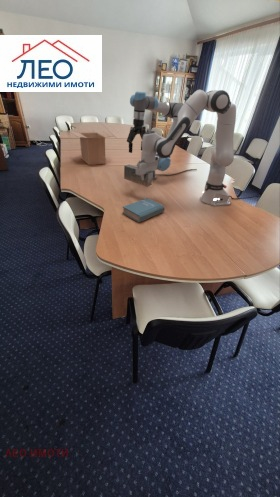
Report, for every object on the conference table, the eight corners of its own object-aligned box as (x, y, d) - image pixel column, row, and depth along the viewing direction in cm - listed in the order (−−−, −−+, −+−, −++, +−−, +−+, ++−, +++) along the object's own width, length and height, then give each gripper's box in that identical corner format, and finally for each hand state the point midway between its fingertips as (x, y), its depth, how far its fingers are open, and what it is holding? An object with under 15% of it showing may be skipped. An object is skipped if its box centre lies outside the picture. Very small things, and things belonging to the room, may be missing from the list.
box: (116, 165, 229) (116, 136, 213) (83, 168, 214) (80, 137, 198) (102, 154, 259) (101, 128, 243) (71, 156, 244) (68, 129, 228)
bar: (124, 178, 165) (124, 165, 160) (128, 177, 169) (129, 164, 163) (147, 186, 155) (148, 173, 149) (151, 185, 158) (153, 171, 152)
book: (146, 204, 158) (147, 197, 155) (163, 212, 149) (164, 206, 146) (122, 213, 145) (122, 206, 142) (139, 223, 136) (140, 216, 133)
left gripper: (130, 119, 143) (128, 154, 155) (153, 119, 159) (150, 150, 171) (122, 118, 147) (121, 152, 159) (145, 118, 163) (143, 148, 175)
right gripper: (141, 162, 139) (140, 183, 147) (160, 156, 152) (158, 176, 161) (134, 160, 142) (133, 181, 150) (152, 155, 155) (151, 174, 164)
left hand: (136, 151), depth 165 cm, fingers open, 13 cm apart
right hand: (146, 178), depth 156 cm, fingers closed on bar, 5 cm apart
